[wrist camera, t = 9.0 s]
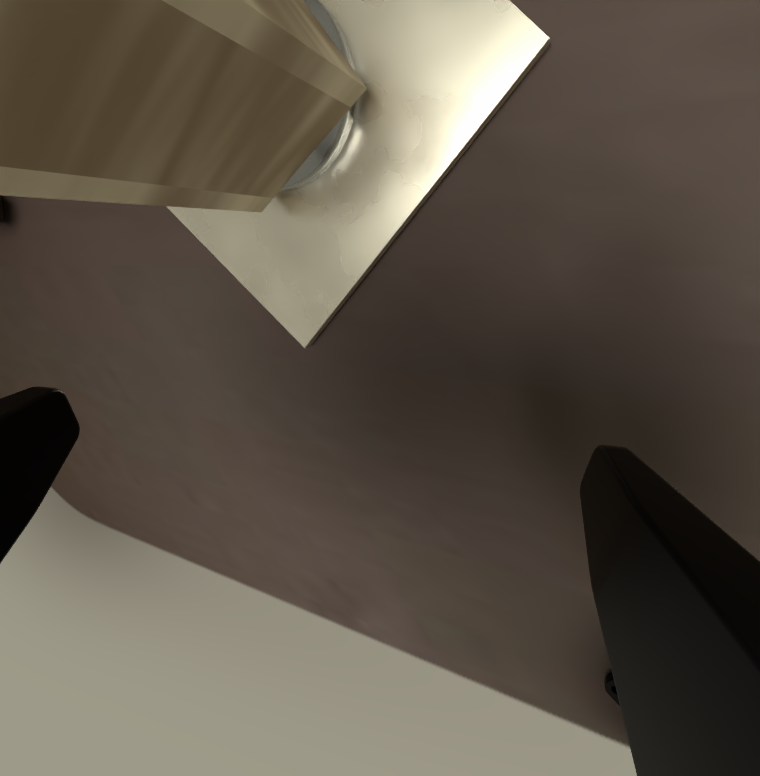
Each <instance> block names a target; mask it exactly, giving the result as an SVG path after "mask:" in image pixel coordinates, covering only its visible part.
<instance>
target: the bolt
mask: <svg viewBox="0 0 760 776" xmlns="http://www.w3.org/2000/svg"><path fill="white" fill-rule="evenodd" d="M3 218H4V216H3V201H2V196H0V221H1V220H2V219H3Z"/></svg>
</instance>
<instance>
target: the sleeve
mask: <svg viewBox="0 0 760 776" xmlns="http://www.w3.org/2000/svg"><path fill="white" fill-rule="evenodd" d="M366 89H367V88H366V86H365V85H364V83H363V82H362V81H361V79H360V78H359V77H358V75H357V74H356V72H355V71H354V70H353V68H352V67H351V66H350V64H349V63H348V61H347V60H346V59H345V57H344V56H343V55H342V53H341V52H340V50H339V49H338V48H337V46H336V45H335V44H334V42H333V41H332V39H331V38H330V37H329V35H328V34H327V33H326V31H325V30H324V28H323V27H322V26H321V24H320V23H319V22H318V20H317V19H316V18H315V16H314V15H313V13H312V12H311V11H310V9H309V8H308V7H307V5H306V4H305V2H304V1H303V0H0V195H3V196H18V197H34V198H49V199H64V200H79V201H95V202H110V203H125V204H140V205H155V206H171V207H186V208H201V209H216V210H232V211H247V212H262V211H263V210H264V209H265V208H266V206H267V205H268V204H269V203H270V202H271V201H272V199H273V198H274V197H275V196H276V195H277V194H278V192H279V191H280V190H281V189H282V188H283V186H284V185H285V184H286V183H287V182H288V181H289V179H290V178H291V177H292V176H293V175H294V174H295V172H296V171H297V170H298V169H299V168H300V166H301V165H302V164H303V163H304V162H305V161H306V159H307V158H308V157H309V156H310V155H311V154H312V152H313V151H314V150H315V149H316V148H317V146H318V145H319V144H320V143H321V142H322V141H323V139H324V138H325V137H326V136H327V135H328V134H329V132H330V131H331V130H332V129H333V128H334V126H335V125H336V124H337V123H338V122H339V121H340V119H341V118H342V117H343V116H344V115H345V114H346V112H347V111H348V110H349V109H350V108H351V106H352V105H353V104H354V103H355V102H356V101H357V99H358V98H359V97H360V96H361V95H362V94H363V92H364V91H365V90H366Z"/></svg>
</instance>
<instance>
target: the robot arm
mask: <svg viewBox="0 0 760 776" xmlns="http://www.w3.org/2000/svg"><path fill="white" fill-rule="evenodd" d="M79 431H80V427H79V423H78V421H77V419H76V417H75V414H74V412H73V410H72V408H71V406H70V404H69V402H68V399H67V397H66V395H65V394H64V393H63V392H62V391H61V390H59V389H56V388H48V387H31V388H28V389H26V390H23V391H20V392H17V393H15V394H12V395H9V396H6V397H4V398H1V399H0V563H1V562H2V560H3V559H4V557H5V556H6V555H7V553H8V552H9V550H10V549H11V547H12V546H13V544H14V543H15V542H16V540H17V539H18V537H19V536H20V535H21V533H22V532H23V530H24V529H25V527H26V526H27V525H28V523H29V522H30V520H31V519H32V517H33V516H34V514H35V512H36V511H37V509H38V507H39V506H40V504H41V502H42V501H43V499H44V497H45V495H46V494H47V492H48V490H49V488H50V487H51V485H52V483H53V481H54V480H55V478H56V476H57V474H58V472H59V471H60V469H61V467H62V465H63V464H64V462H65V460H66V458H67V457H68V455H69V453H70V451H71V449H72V448H73V446H74V444H75V442H76V441H77V439H78V436H79ZM580 497H581V506H582V514H583V522H584V531H585V539H586V547H587V555H588V564H589V571H590V578H591V585H592V590H593V594H594V599H595V603H596V608H597V612H598V616H599V620H600V624H601V628H602V632H603V636H604V641H605V645H606V649H607V653H608V657H609V661H610V665H611V670H612V673H609V674H608V675H606V677H605V689H606V692H607V693H608V694H609V695H610V696H611V697H612V698H613V699H614V700H615V701H616V702H617V704H618V705H619V706H620V707H621V711H622V715H623V719H624V723H625V728H626V732H627V736H628V740H629V744H630V748H631V752H632V756H633V760H634V764H635V769H636V773H637V776H760V561H758V560H757V559H756V558H755V557H754V556H753V555H751V554H750V553H749V552H748V551H747V550H746V549H744V548H743V547H742V546H741V545H740V544H738V543H737V542H736V541H735V540H734V539H733V538H731V537H730V536H729V535H728V534H727V533H726V532H724V531H723V530H722V529H721V528H720V527H719V526H717V525H716V524H715V523H714V522H713V521H712V520H710V519H709V518H708V517H707V516H706V515H705V514H703V513H702V512H701V511H700V510H699V509H698V508H696V507H695V506H694V505H693V504H692V503H691V502H689V501H688V500H687V499H686V498H685V497H684V496H682V495H681V494H680V493H679V492H678V491H677V490H675V489H674V488H673V487H672V486H671V485H670V484H668V483H667V482H666V481H665V480H664V479H663V478H661V477H660V476H659V475H658V474H657V473H655V472H654V471H653V470H652V469H651V468H650V467H648V466H647V465H646V464H645V463H644V462H643V461H641V460H640V459H639V458H638V457H637V456H636V455H634V454H633V453H632V452H631V451H630V450H628V449H627V448H624V447H617V446H608V445H600V446H598V447H596V449H595V450H594V452H593V454H592V456H591V459H590V461H589V464H588V466H587V469H586V471H585V474H584V476H583V479H582V481H581V486H580Z"/></svg>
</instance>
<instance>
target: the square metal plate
mask: <svg viewBox="0 0 760 776" xmlns="http://www.w3.org/2000/svg"><path fill="white" fill-rule="evenodd" d="M303 1H304V2H305V4H306V5H307V7H308V8H309V9H310V11H311V12H312V13H313V15H314V16H315V18H316V19H317V20H318V22H319V23H320V24H321V26H322V27H323V28H324V30H325V31H326V33H327V34H328V35H329V37H330V38H331V39H332V41H333V42H334V44H335V45H336V46H337V48H338V49H339V50H340V52H341V53H342V55H343V56H344V57H345V59H346V60H347V61H348V63H349V64H350V66H351V67H352V68H353V70H354V71H355V72H356V74H357V75H358V77H359V78H360V79H361V81H362V82H363V83H364V85H365V86H366V88H367V89H366V90H365V91H364V92H363V94H362V95H361V96H360V97H359V98H358V99H357V101H356V102H355V103H354V104H353V105H352V106H351V108H350V109H349V110H348V111H347V112H346V114H345V115H344V116H343V117H342V118H341V119H340V121H339V122H338V123H337V124H336V125H335V126H334V128H333V129H332V130H331V131H330V132H329V134H328V135H327V136H326V137H325V138H324V139H323V141H322V142H321V143H320V144H319V145H318V146H317V148H316V149H315V150H314V151H313V152H312V154H311V155H310V156H309V157H308V158H307V159H306V161H305V162H304V163H303V164H302V165H301V166H300V168H299V169H298V170H297V171H296V172H295V174H294V175H293V176H292V177H291V178H290V179H289V181H288V182H287V183H286V184H285V185H284V186H283V188H282V189H281V190H280V191H279V192H278V194H277V195H276V196H275V197H274V198H273V199H272V201H271V202H270V203H269V204H268V205H267V206H266V208H265V209H264V210H263V211H262V212H247V211H232V210H216V209H201V208H186V207H171V206H166V207H167V208H168V209H169V210H170V211H171V212H172V213H173V214H174V215H175V216H176V217H177V218H178V219H179V220H180V221H181V222H182V223H183V224H184V225H185V226H186V227H187V228H188V229H189V230H190V231H191V232H192V233H193V234H194V235H195V236H196V237H197V238H198V239H199V240H200V241H201V243H202V244H203V245H204V246H205V247H206V248H207V249H208V250H209V251H210V252H211V253H212V254H213V255H214V256H215V257H216V258H217V259H218V260H219V261H220V262H221V263H222V264H223V265H224V266H225V267H226V268H227V269H228V270H229V271H230V272H231V273H232V274H233V275H234V276H235V277H236V278H237V279H238V280H239V281H240V282H241V283H242V284H243V286H244V287H245V288H246V289H247V290H248V291H249V292H250V293H251V294H252V295H253V296H254V297H255V298H256V299H257V300H258V301H259V302H260V303H261V304H262V305H263V306H264V307H265V308H266V309H267V310H268V311H269V312H270V313H271V314H272V315H273V316H274V317H275V318H276V319H277V320H278V321H279V322H280V323H281V324H282V325H283V326H284V328H285V329H286V330H287V331H288V332H289V333H290V334H291V335H292V336H293V337H294V338H295V339H296V340H297V341H298V342H299V343H300V344H301V345H302V346H303V347H304V348H305V347H308V346H310V345H312V343H313V342H314V341H315V340H316V338H317V337H318V336H319V335H320V333H321V332H322V331H323V330H324V328H325V327H326V326H327V325H328V323H329V322H330V321H331V320H332V318H333V317H334V316H335V314H336V313H337V312H338V311H339V309H340V308H341V307H342V306H343V304H344V303H345V302H346V301H347V299H348V298H349V297H350V296H351V294H352V293H353V292H354V291H355V289H356V288H357V287H358V286H359V284H360V283H361V282H362V281H363V279H364V278H365V277H366V276H367V274H368V273H369V272H370V271H371V269H372V268H373V267H374V266H375V264H376V263H377V262H378V261H379V259H380V258H381V257H382V256H383V254H384V253H385V252H386V251H387V249H388V248H389V247H390V245H391V244H392V243H393V242H394V240H395V239H396V238H397V237H398V235H399V234H400V233H401V232H402V230H403V229H404V228H405V227H406V225H407V224H408V223H409V222H410V220H411V219H412V218H413V217H414V215H415V214H416V213H417V212H418V210H419V209H420V208H421V207H422V205H423V204H424V203H425V202H426V200H427V199H428V198H429V197H430V195H431V194H432V193H433V192H434V190H435V189H436V188H437V187H438V185H439V184H440V183H441V182H442V180H443V179H444V178H445V176H446V175H447V174H448V173H449V171H450V170H451V169H452V168H453V166H454V165H455V164H456V163H457V161H458V160H459V159H460V158H461V156H462V155H463V154H464V153H465V151H466V150H467V149H468V148H469V146H470V145H471V144H472V143H473V141H474V140H475V139H476V138H477V136H478V135H479V134H480V133H481V131H482V130H483V129H484V128H485V126H486V125H487V124H488V123H489V121H490V120H491V119H492V118H493V116H494V115H495V114H496V112H497V111H498V110H499V109H500V107H501V106H502V105H503V104H504V102H505V101H506V100H507V99H508V97H509V96H510V95H511V94H512V92H513V91H514V90H515V89H516V87H517V86H518V85H519V84H520V82H521V81H522V80H523V79H524V77H525V76H526V75H527V74H528V72H529V71H530V70H531V69H532V67H533V66H534V65H535V64H536V62H537V61H538V60H539V59H540V57H541V56H542V55H543V54H544V52H545V51H546V50H547V49H548V47H549V46H550V39H549V37H548V36H547V35H546V34H545V33H544V32H543V31H541V30H540V29H539V28H538V27H537V26H536V25H535V24H534V23H533V22H532V21H531V20H530V19H529V18H528V17H526V16H525V15H524V14H523V13H522V12H521V11H520V10H519V9H518V8H517V7H516V6H515V5H514V4H513V3H512V2H510V1H509V0H303Z"/></svg>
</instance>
